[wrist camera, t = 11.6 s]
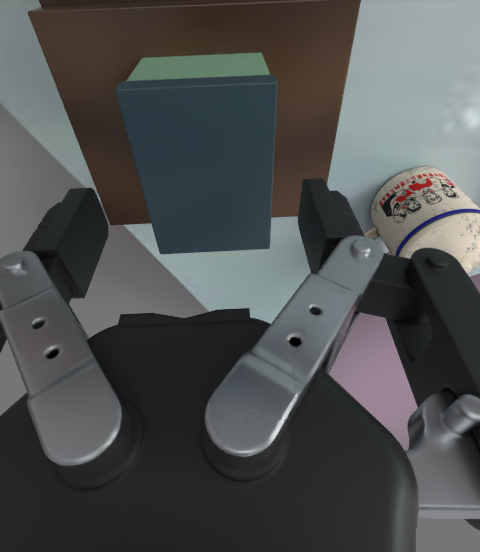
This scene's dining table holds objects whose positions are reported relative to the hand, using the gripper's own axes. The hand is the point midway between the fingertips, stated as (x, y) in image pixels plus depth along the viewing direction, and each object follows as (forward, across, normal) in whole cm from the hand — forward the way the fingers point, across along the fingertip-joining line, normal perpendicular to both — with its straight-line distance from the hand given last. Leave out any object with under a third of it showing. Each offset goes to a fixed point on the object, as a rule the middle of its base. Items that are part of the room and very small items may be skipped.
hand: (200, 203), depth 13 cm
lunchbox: (+7, 0, 0) cm, 7 cm away
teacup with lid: (+20, -20, +15) cm, 32 cm away
